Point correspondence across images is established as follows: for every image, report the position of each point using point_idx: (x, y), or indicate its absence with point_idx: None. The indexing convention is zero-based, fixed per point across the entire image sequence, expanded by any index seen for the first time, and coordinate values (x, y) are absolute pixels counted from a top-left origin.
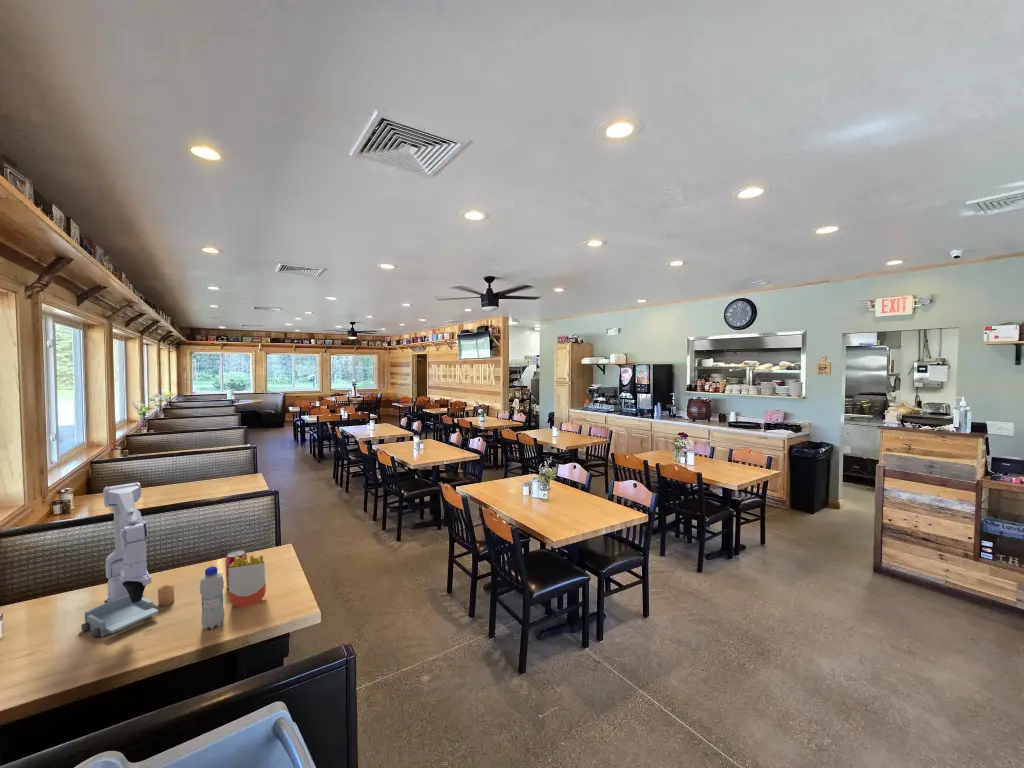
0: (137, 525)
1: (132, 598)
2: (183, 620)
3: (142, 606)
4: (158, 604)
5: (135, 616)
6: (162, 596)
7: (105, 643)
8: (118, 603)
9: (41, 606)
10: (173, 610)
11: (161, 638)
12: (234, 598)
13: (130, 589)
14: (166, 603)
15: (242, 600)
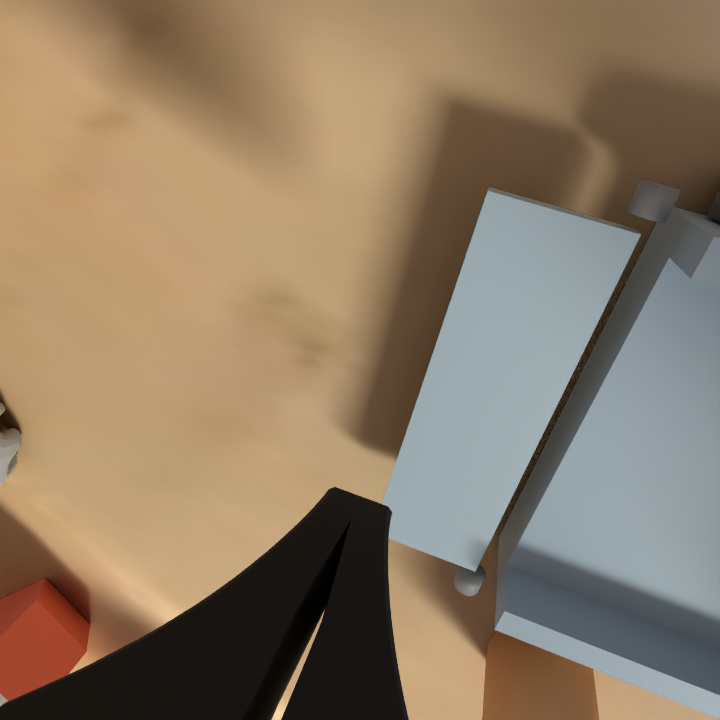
0: None
1: (298, 530)
2: (198, 466)
3: (613, 598)
4: None
5: (495, 447)
6: (522, 701)
7: (506, 115)
8: None
9: None
10: None
11: (117, 267)
12: (6, 623)
13: (128, 675)
14: (502, 643)
15: (3, 613)
